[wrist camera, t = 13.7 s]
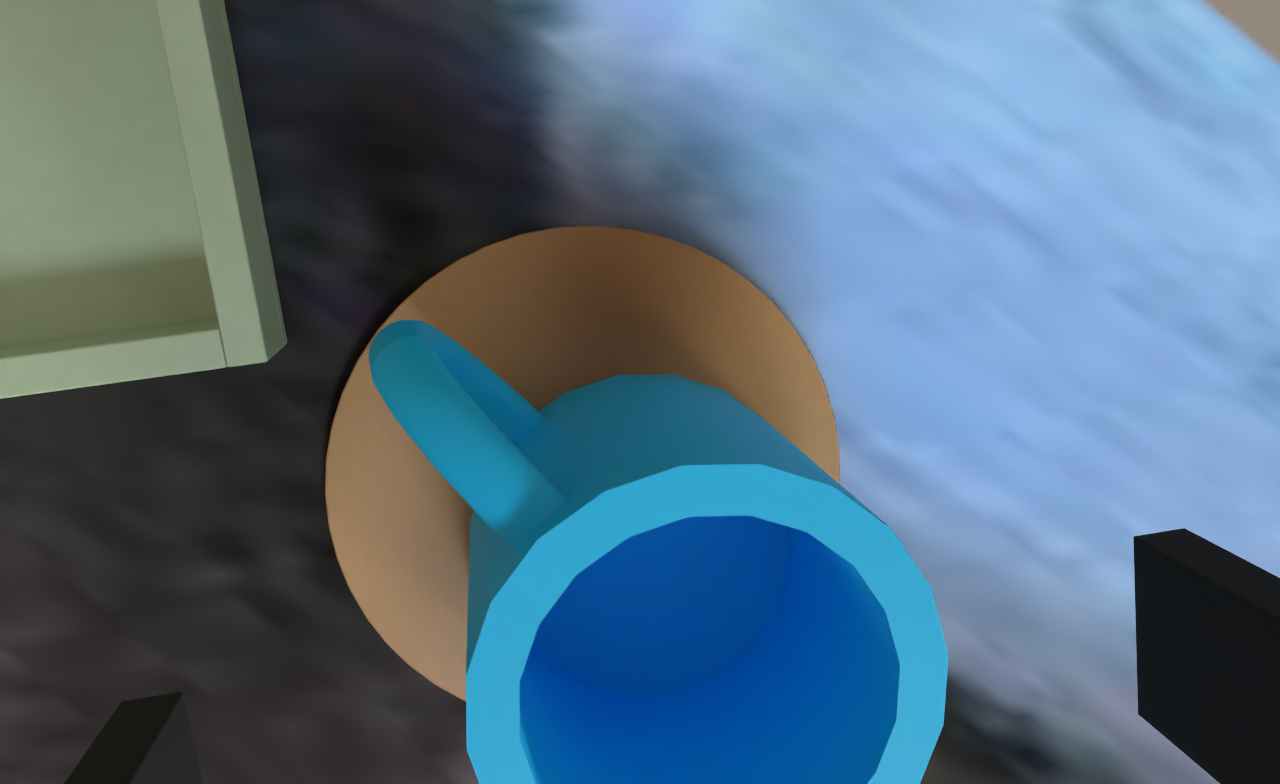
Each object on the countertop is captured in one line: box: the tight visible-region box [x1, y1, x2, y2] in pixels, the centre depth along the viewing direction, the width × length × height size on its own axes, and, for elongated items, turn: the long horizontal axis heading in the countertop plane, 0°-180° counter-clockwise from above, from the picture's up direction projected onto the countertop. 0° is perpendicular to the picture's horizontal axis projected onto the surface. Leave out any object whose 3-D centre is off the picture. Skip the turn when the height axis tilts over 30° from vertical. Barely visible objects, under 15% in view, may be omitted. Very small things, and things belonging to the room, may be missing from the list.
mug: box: [368, 320, 949, 784], centre depth 22 cm, size 12×8×8 cm
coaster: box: [325, 225, 840, 701], centre depth 26 cm, size 12×12×1 cm
